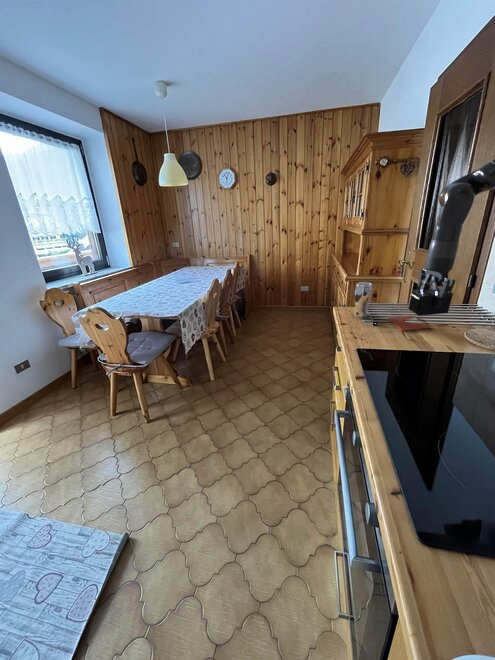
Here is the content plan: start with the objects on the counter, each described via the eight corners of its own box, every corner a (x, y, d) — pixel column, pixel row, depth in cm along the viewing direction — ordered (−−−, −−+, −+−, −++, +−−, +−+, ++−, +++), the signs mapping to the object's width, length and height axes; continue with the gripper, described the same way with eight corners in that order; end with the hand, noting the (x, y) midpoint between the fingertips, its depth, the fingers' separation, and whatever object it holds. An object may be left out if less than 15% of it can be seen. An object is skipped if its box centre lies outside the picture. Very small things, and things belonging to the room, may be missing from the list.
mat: (414, 316, 126) (414, 315, 126) (431, 328, 116) (431, 327, 115) (387, 318, 126) (387, 317, 126) (402, 331, 115) (402, 330, 115)
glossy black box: (435, 306, 100) (440, 287, 97) (447, 313, 95) (453, 293, 91) (406, 309, 100) (410, 290, 96) (416, 316, 94) (421, 296, 91)
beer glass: (365, 311, 134) (370, 281, 127) (370, 318, 127) (374, 286, 121) (350, 312, 134) (354, 281, 127) (354, 318, 128) (358, 287, 121)
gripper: (471, 258, 82) (455, 311, 90) (437, 248, 95) (426, 295, 102) (446, 260, 82) (432, 313, 89) (416, 250, 94) (406, 297, 102)
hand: (429, 303), depth 96 cm, fingers closed on glossy black box, 6 cm apart
